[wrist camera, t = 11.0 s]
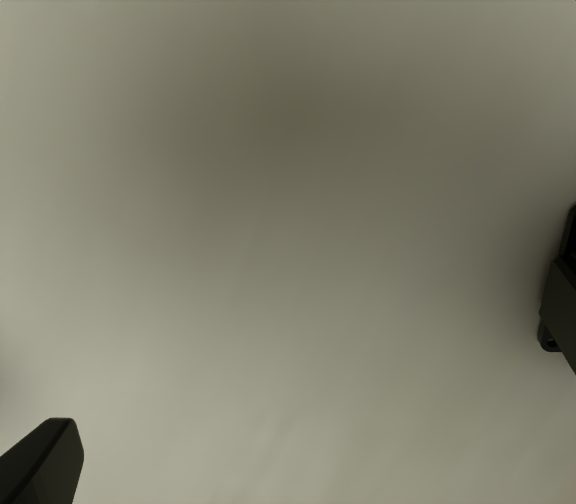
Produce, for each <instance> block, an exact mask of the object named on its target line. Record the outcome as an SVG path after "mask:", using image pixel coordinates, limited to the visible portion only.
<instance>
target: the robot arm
mask: <svg viewBox="0 0 576 504" xmlns="http://www.w3.org/2000/svg"><path fill="white" fill-rule="evenodd" d="M539 315H540V316H541V318H542V320H541V324H540V328H539V332H538V336H537V340H538V342H539V343H540V345H541V347H542V349H544V350H545V351H548V352H562V353H563V355H564V356H565V358H566V360H567V361H568V363H569V365H570V366H571V368H572V370H573V371H574V373H575V375H576V205H575V206H574V207H573V208H572V209H571V210H570V212H569V215H568V218H567V222H566V226H565V230H564V234H563V238H562V242H561V246H560V250H559V254H558V255H557V256H556V257H555V258H554V259H553V260H552V262H551V266H550V270H549V274H548V278H547V282H546V286H545V290H544V294H543V298H542V302H541V306H540V310H539ZM550 338H554V340H552V341H548V340H549V339H550ZM83 461H84V450H83V446H82V443H81V439H80V436H79V432H78V429H77V425H76V423H75V421H74V420H73V419H72V418H49V419H47V420H45V421H44V422H43V423H41V424H40V425H39V426H38V427H36V428H35V429H34V430H33V431H32V432H30V433H29V434H28V435H27V436H25V437H24V438H23V439H22V440H20V441H19V442H18V443H17V444H15V445H14V446H13V447H12V448H10V449H9V450H8V451H7V452H6V453H4V454H3V455H2V456H1V457H0V504H72V502H73V499H74V495H75V492H76V488H77V484H78V481H79V477H80V474H81V470H82V466H83Z"/></svg>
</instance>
